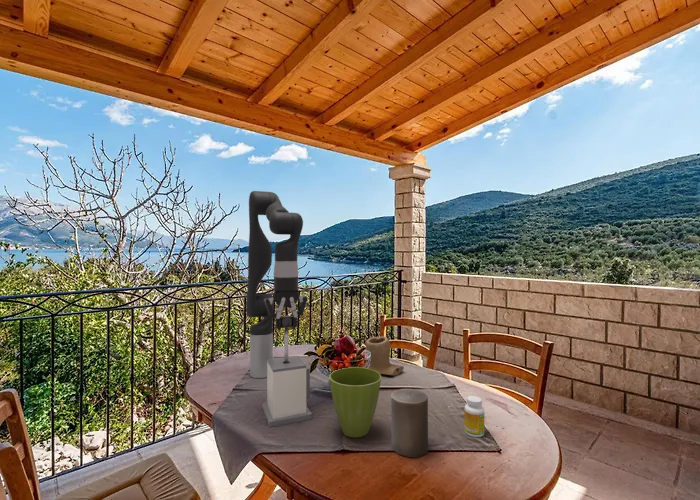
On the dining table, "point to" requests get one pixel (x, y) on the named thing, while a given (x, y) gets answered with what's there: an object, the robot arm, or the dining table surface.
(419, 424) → the pillar candle
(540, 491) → the dining table surface
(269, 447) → the dining table surface
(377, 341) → the tan boot
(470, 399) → the supplement bottle
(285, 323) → the plunger
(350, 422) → the flower pot
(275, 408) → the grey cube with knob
